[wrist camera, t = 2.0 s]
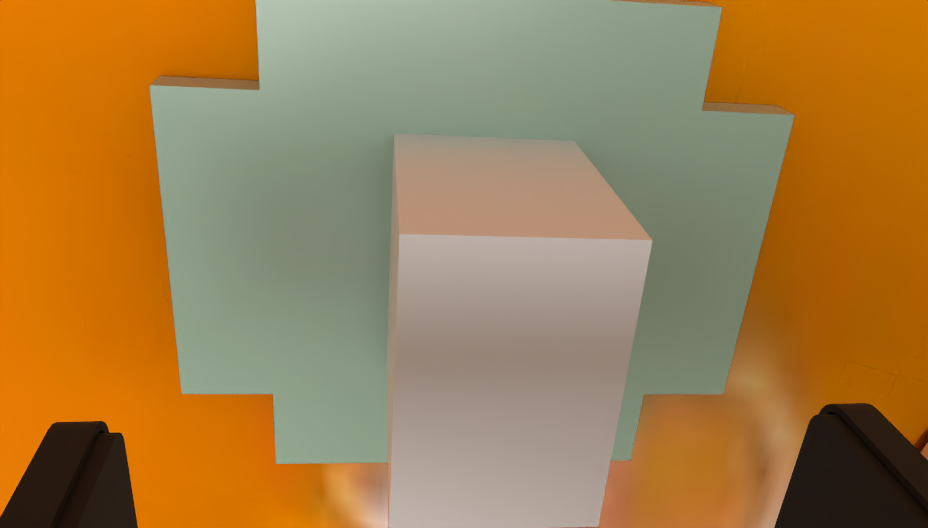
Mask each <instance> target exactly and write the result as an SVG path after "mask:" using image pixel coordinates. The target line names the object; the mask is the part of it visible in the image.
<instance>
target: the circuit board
mask: <svg viewBox="0 0 928 528" xmlns="http://www.w3.org/2000/svg"><path fill="white" fill-rule="evenodd" d="M722 8H723V7H720V6H717V5H714V4H711V3H708V2H697V1H681V0H256V17H257V40H258V63H259V81H257V80H236V79H215V78H194V77H173V76H160V77H159V78H158V79H156V80H155V81H154V82H153V83H152V84H150V85H149V86H150V95H151V105H152V114H153V124H154V134H155V143H156V153H157V162H158V172H159V181H160V191H161V201H162V210H163V220H164V229H165V239H166V248H167V258H168V268H169V277H170V287H171V296H172V306H173V315H174V325H175V335H176V344H177V354H178V363H179V373H180V382H181V392H182V394H273V406H274V429H275V452H276V464H300V463H388V523H389V528H560V527H598V525H599V520H600V514H601V509H602V504H603V499H604V493H605V488H606V483H607V478H608V472H609V467H610V462H611V460H631V455H632V450H633V445H634V441H635V436H636V431H637V426H638V421H639V416H640V411H641V406H642V401H643V396H644V394H723V393H724V389H725V385H726V381H727V377H728V374H729V370H730V366H731V362H732V358H733V354H734V350H735V346H736V342H737V338H738V335H739V331H740V327H741V323H742V319H743V315H744V311H745V307H746V303H747V299H748V296H749V292H750V288H751V284H752V280H753V276H754V272H755V268H756V264H757V260H758V257H759V253H760V249H761V245H762V241H763V237H764V233H765V229H766V225H767V221H768V218H769V214H770V210H771V206H772V202H773V198H774V194H775V190H776V186H777V182H778V179H779V175H780V171H781V167H782V163H783V159H784V155H785V151H786V147H787V143H788V140H789V136H790V132H791V128H792V124H793V120H794V116H795V115H794V114H792V113H790V112H788V111H786V110H784V109H783V108H781V107H779V106H777V105H760V104H739V103H718V102H703V101H704V97H705V92H706V87H707V82H708V77H709V72H710V67H711V62H712V57H713V52H714V47H715V43H716V38H717V33H718V28H719V23H720V18H721V13H722Z"/></svg>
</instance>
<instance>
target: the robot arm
mask: <svg viewBox="0 0 928 528" xmlns="http://www.w3.org/2000/svg"><path fill="white" fill-rule="evenodd" d="M0 528H138V527H137V520H136V514H135V507H134V501H133V494H132V488H131V481H130V475H129V468H128V462H127V455H126V449H125V442H124V438H123V435H122V434H121V433H109V430H108V427H107V425H106V423H105V422H103V421H92V422H56V423H54V424H52V425H51V427H50V428H49V429H48V431H47V433H46V435H45V437H44V438H43V440H42V442H41V444H40V446H39V448H38V449H37V451H36V453H35V455H34V457H33V459H32V460H31V462H30V464H29V466H28V468H27V469H26V471H25V473H24V475H23V477H22V479H21V480H20V482H19V484H18V486H17V488H16V490H15V491H14V493H13V495H12V497H11V499H10V501H9V502H8V504H7V506H6V508H5V510H4V512H3V513H2V515H1V517H0ZM774 528H928V442H927V444H926V445H925V447H924V448H923V450H922V451H921V452H919V451H918V450H917V449H916V448H915V447H914V446H913V445H912V444H911V443H910V442H909V441H908V440H907V439H906V438H905V437H904V436H903V435H902V434H901V433H900V432H899V431H898V430H897V429H896V428H895V427H894V426H893V425H892V424H891V423H890V422H889V421H888V420H887V419H886V418H885V417H884V416H883V415H882V414H881V413H880V412H879V411H878V410H877V409H876V408H875V407H873V406H872V405H870V404H866V403H856V404H830V405H826V406H825V407H824V408H822V409H821V411H820V413H819V415H815V416H814V417H813V418H812V419H811V420H810V422H809V425H808V428H807V431H806V434H805V437H804V440H803V443H802V446H801V449H800V452H799V455H798V458H797V461H796V464H795V467H794V470H793V473H792V476H791V479H790V482H789V485H788V488H787V491H786V494H785V497H784V500H783V503H782V506H781V509H780V512H779V515H778V518H777V521H776V524H775V527H774Z"/></svg>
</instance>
